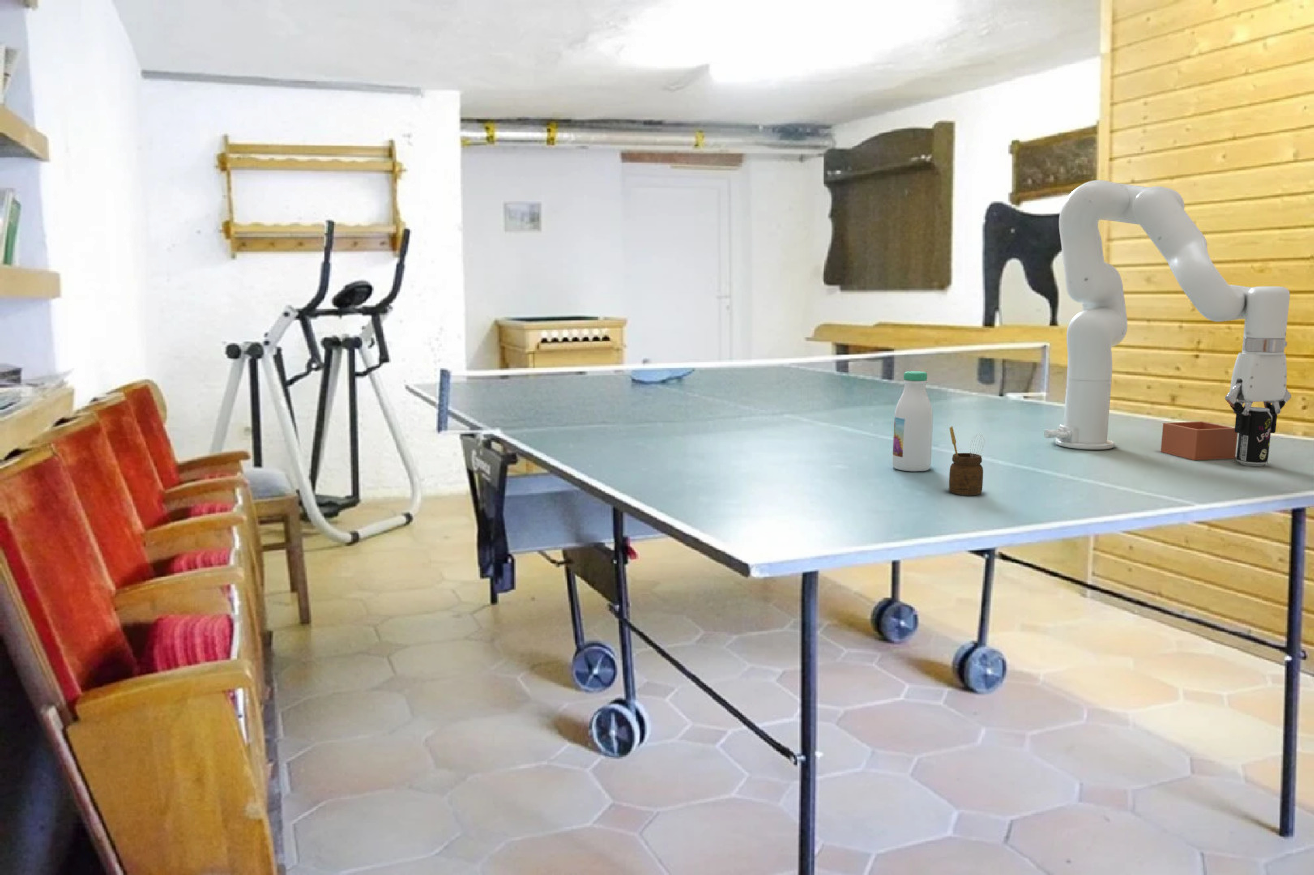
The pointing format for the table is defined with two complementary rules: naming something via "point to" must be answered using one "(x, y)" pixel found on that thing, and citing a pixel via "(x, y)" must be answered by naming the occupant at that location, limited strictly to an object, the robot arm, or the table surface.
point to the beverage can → (1255, 438)
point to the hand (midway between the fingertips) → (1254, 431)
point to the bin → (1199, 440)
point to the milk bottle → (913, 425)
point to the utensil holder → (965, 471)
